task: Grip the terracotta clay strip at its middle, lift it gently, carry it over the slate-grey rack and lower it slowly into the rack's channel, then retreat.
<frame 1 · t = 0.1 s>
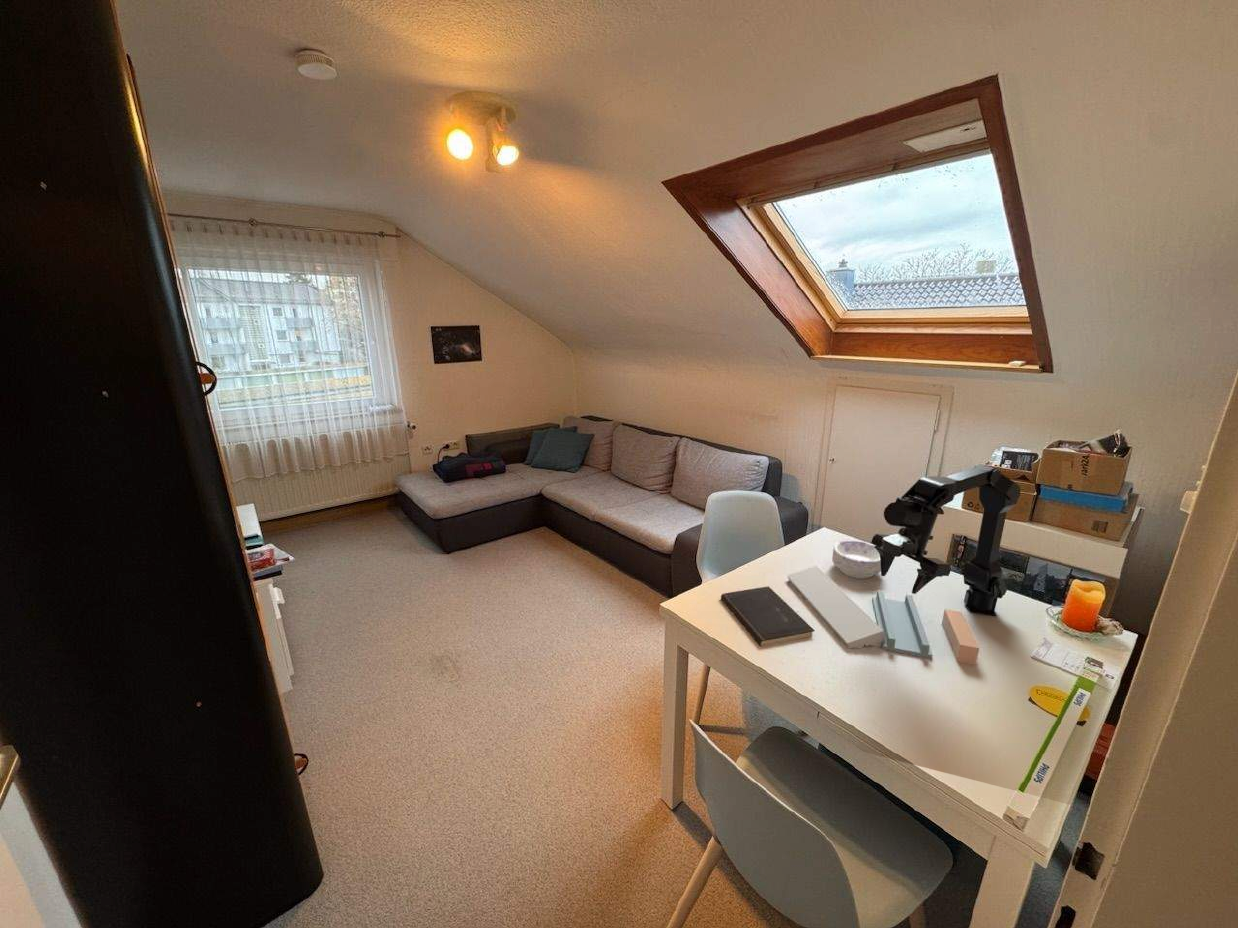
hand: (897, 584, 128), 15 cm above the table, tool pointing down, fingers open, 9 cm apart
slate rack: (899, 626, 137), on the table
clay strip: (957, 643, 130), on the table
hardcover book: (764, 618, 142), on the table
white purple speckled bowl: (855, 572, 165), on the table
light grey long wedge: (830, 611, 145), on the table
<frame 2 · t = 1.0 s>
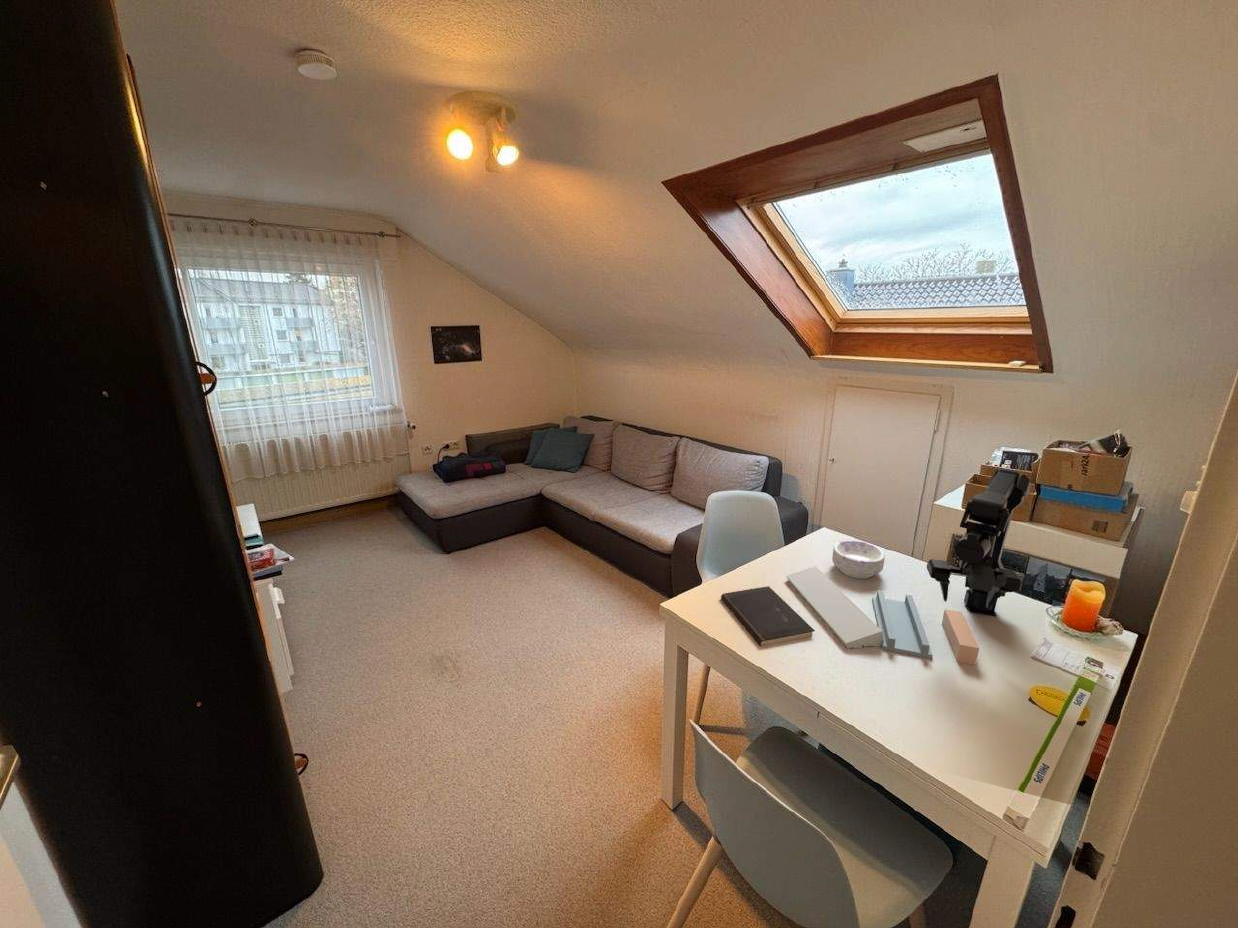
hand: (965, 604, 126), 12 cm above the table, tool pointing down, fingers open, 9 cm apart
nothing on the table moved.
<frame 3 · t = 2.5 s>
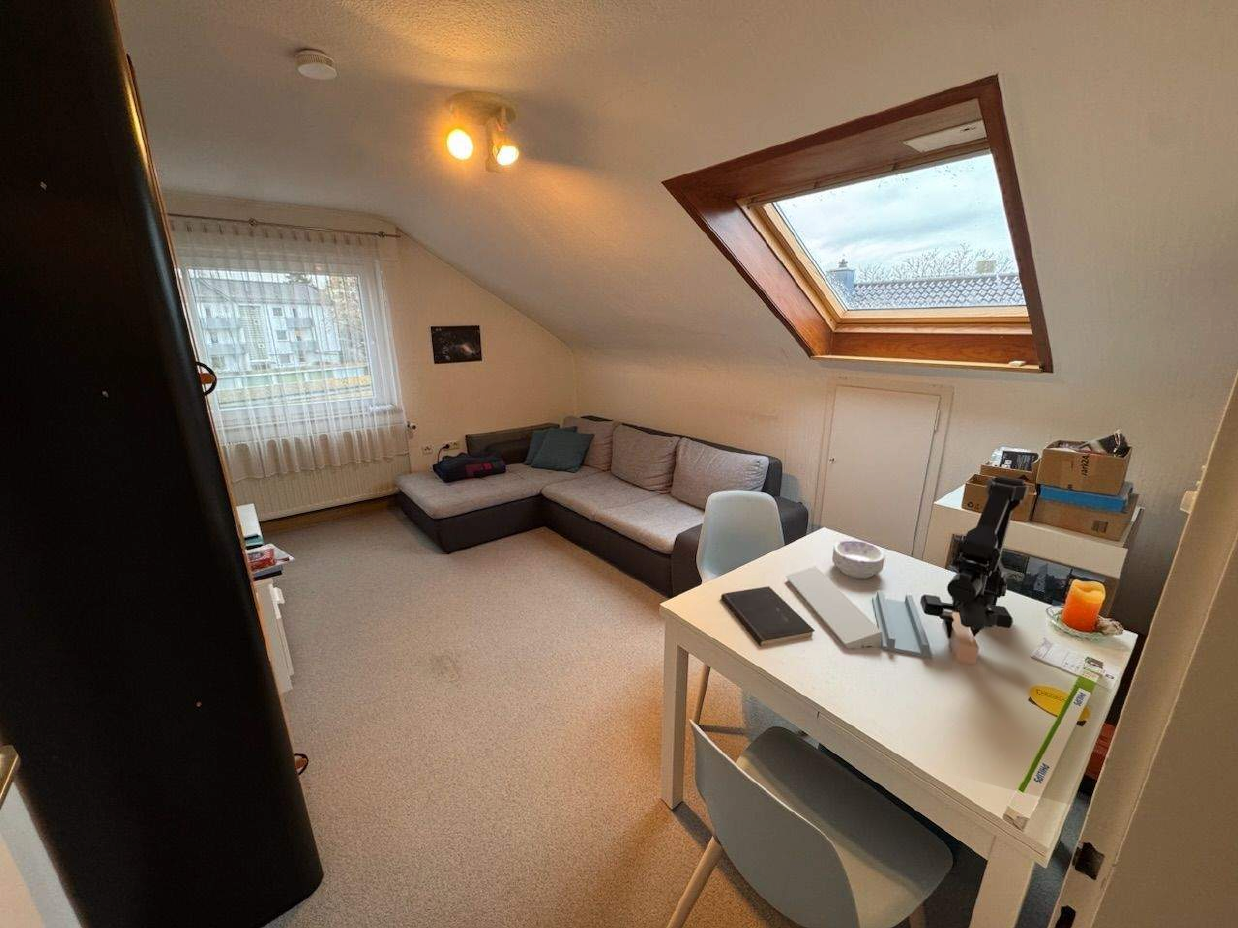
hand: (958, 638, 129), 1 cm above the table, tool pointing down, fingers closed on clay strip, 4 cm apart
clay strip: (957, 643, 130), on the table, touching gripper
everything else where it was.
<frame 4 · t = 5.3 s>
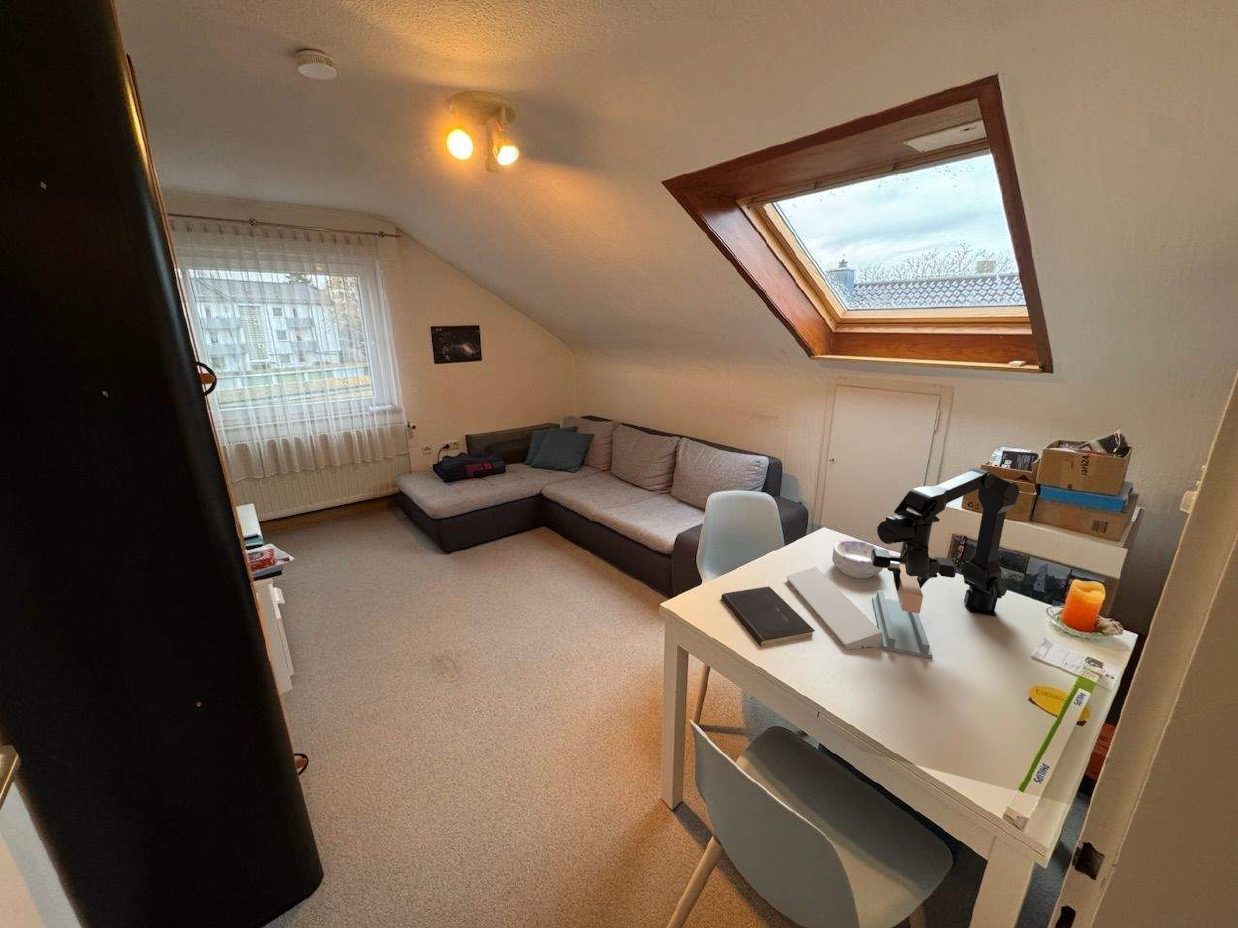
hand: (906, 591, 133), 11 cm above the table, tool pointing down, fingers closed on clay strip, 4 cm apart
clay strip: (905, 595, 133), point 10 cm above the table, touching gripper
everything else where it was.
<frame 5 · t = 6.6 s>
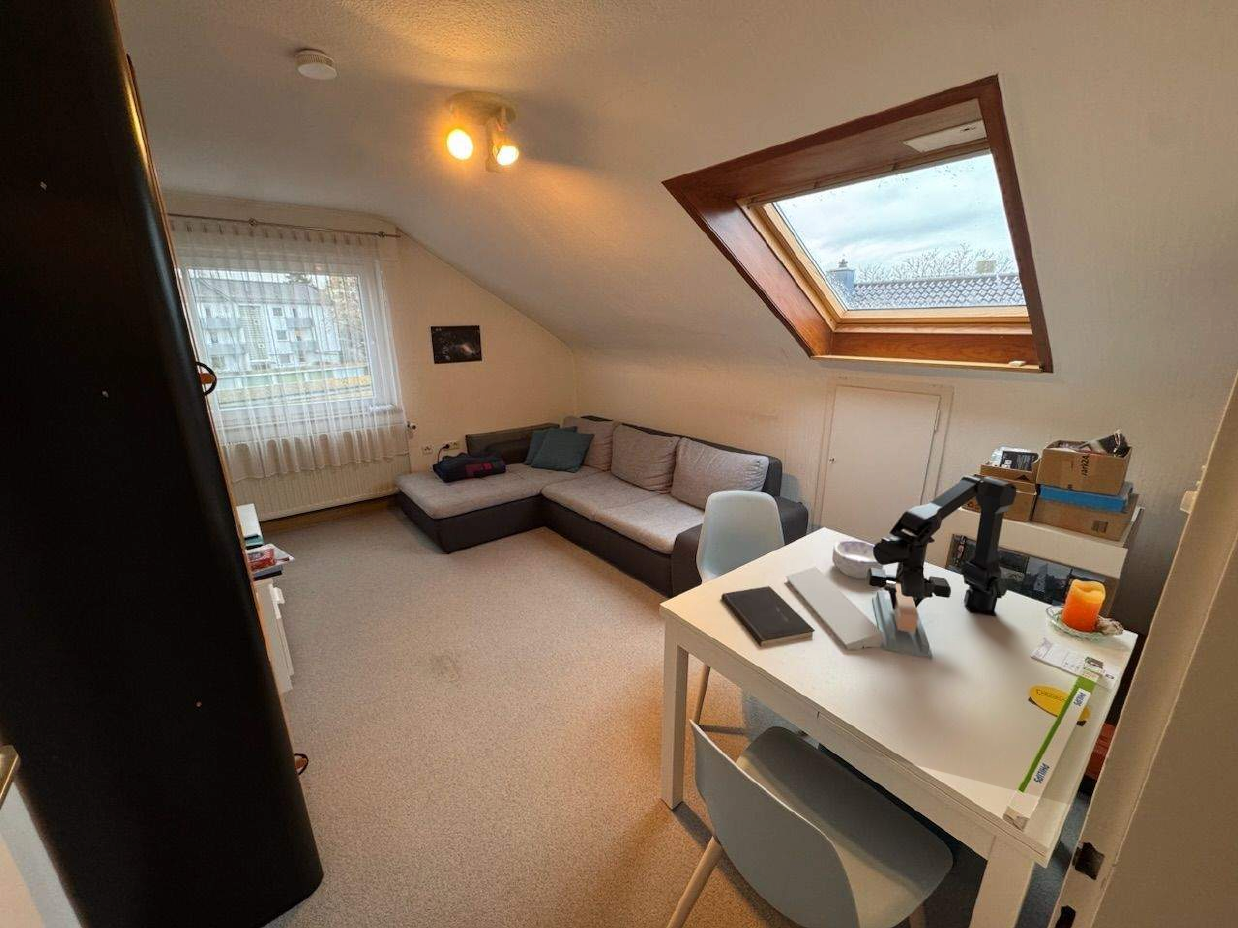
hand: (902, 609, 135), 5 cm above the table, tool pointing down, fingers closed on clay strip, 4 cm apart
clay strip: (901, 614, 135), point 4 cm above the table, touching gripper
everything else where it was.
when the fingers open (4 cm above the table, at t = 7.7 s): clay strip drops 2 cm, resting on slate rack.
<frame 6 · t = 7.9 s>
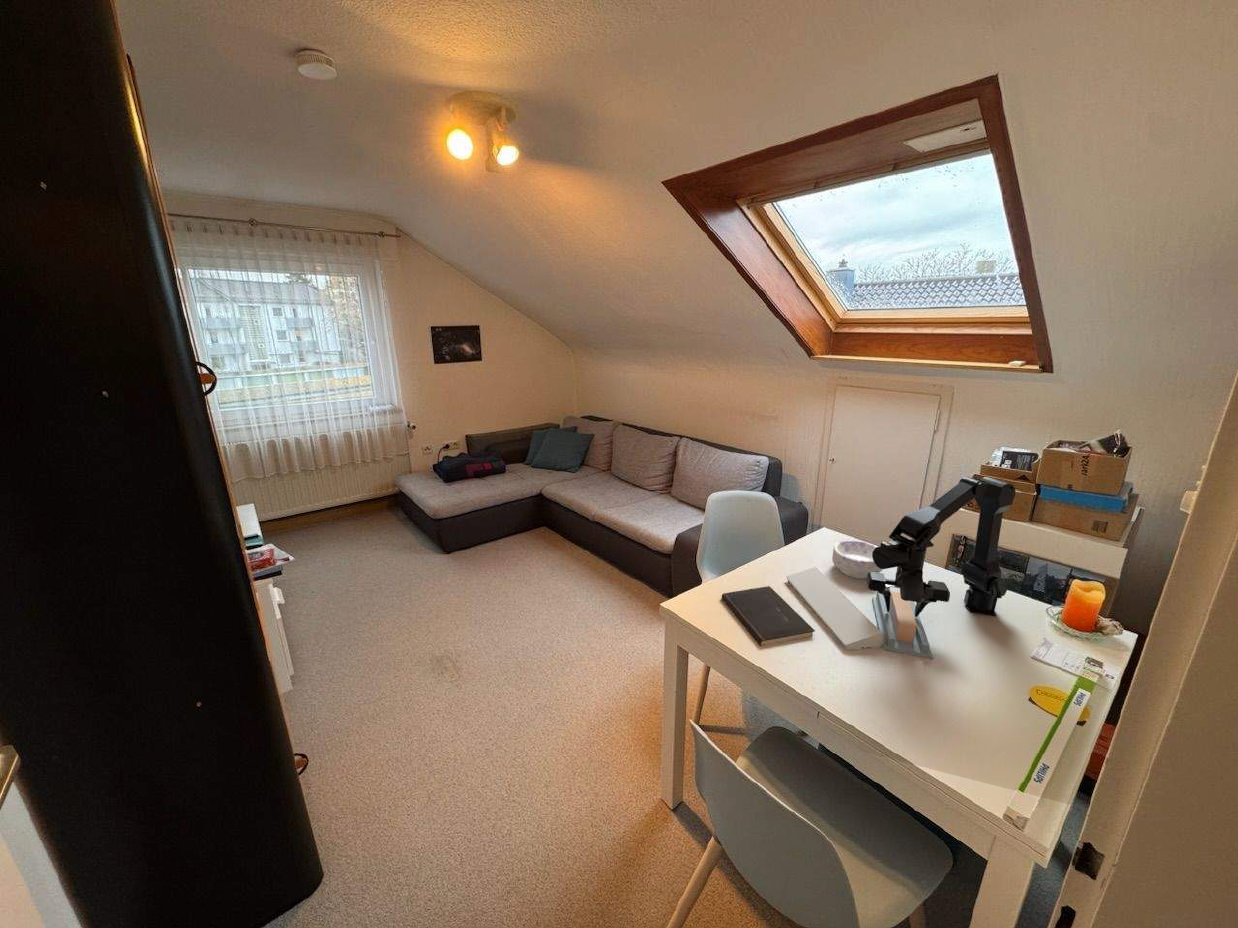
hand: (901, 613, 135), 4 cm above the table, tool pointing down, fingers open, 6 cm apart
clay strip: (900, 623, 136), point 1 cm above the table, touching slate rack
everything else where it was.
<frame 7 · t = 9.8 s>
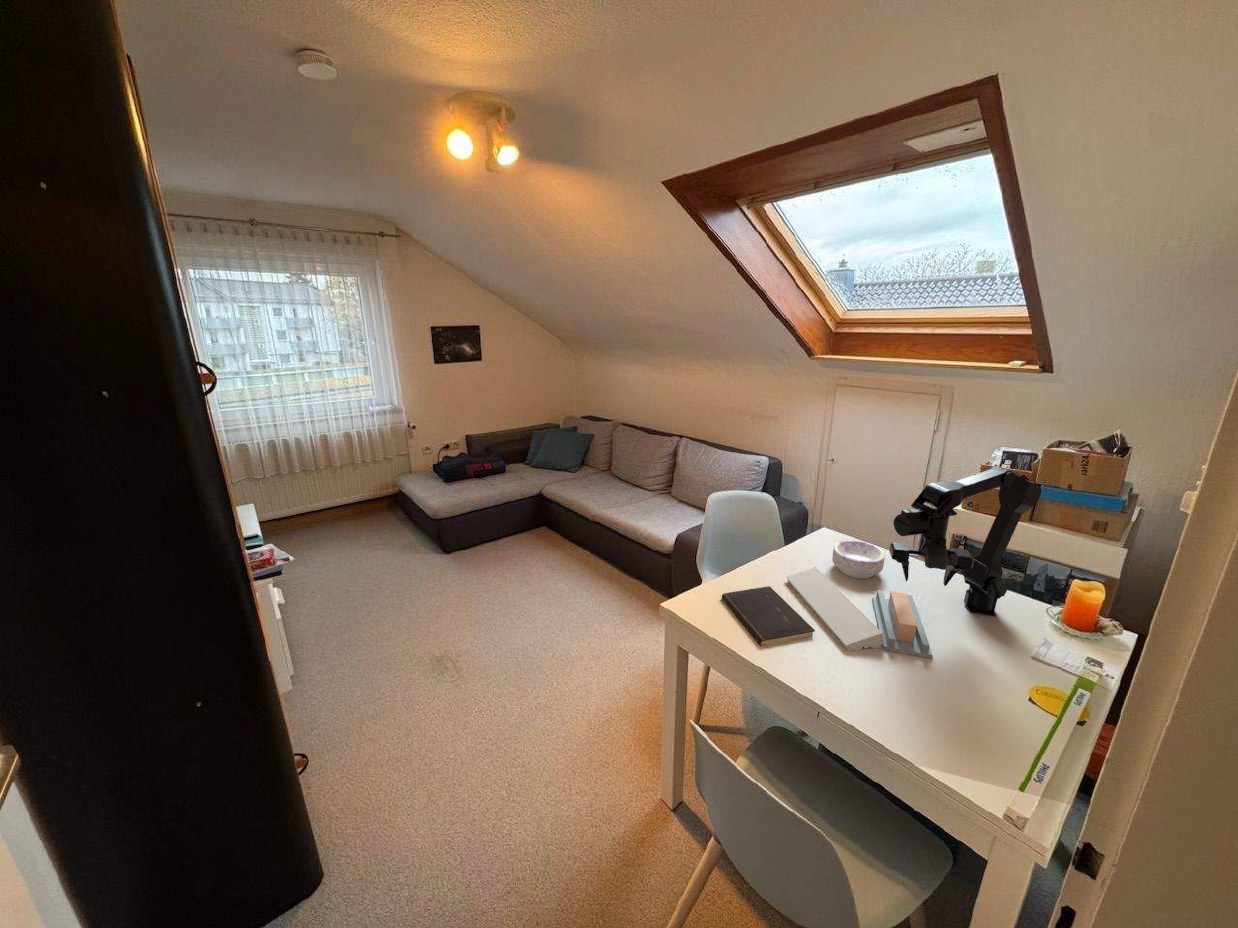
hand: (925, 582, 137), 11 cm above the table, tool pointing down, fingers open, 9 cm apart
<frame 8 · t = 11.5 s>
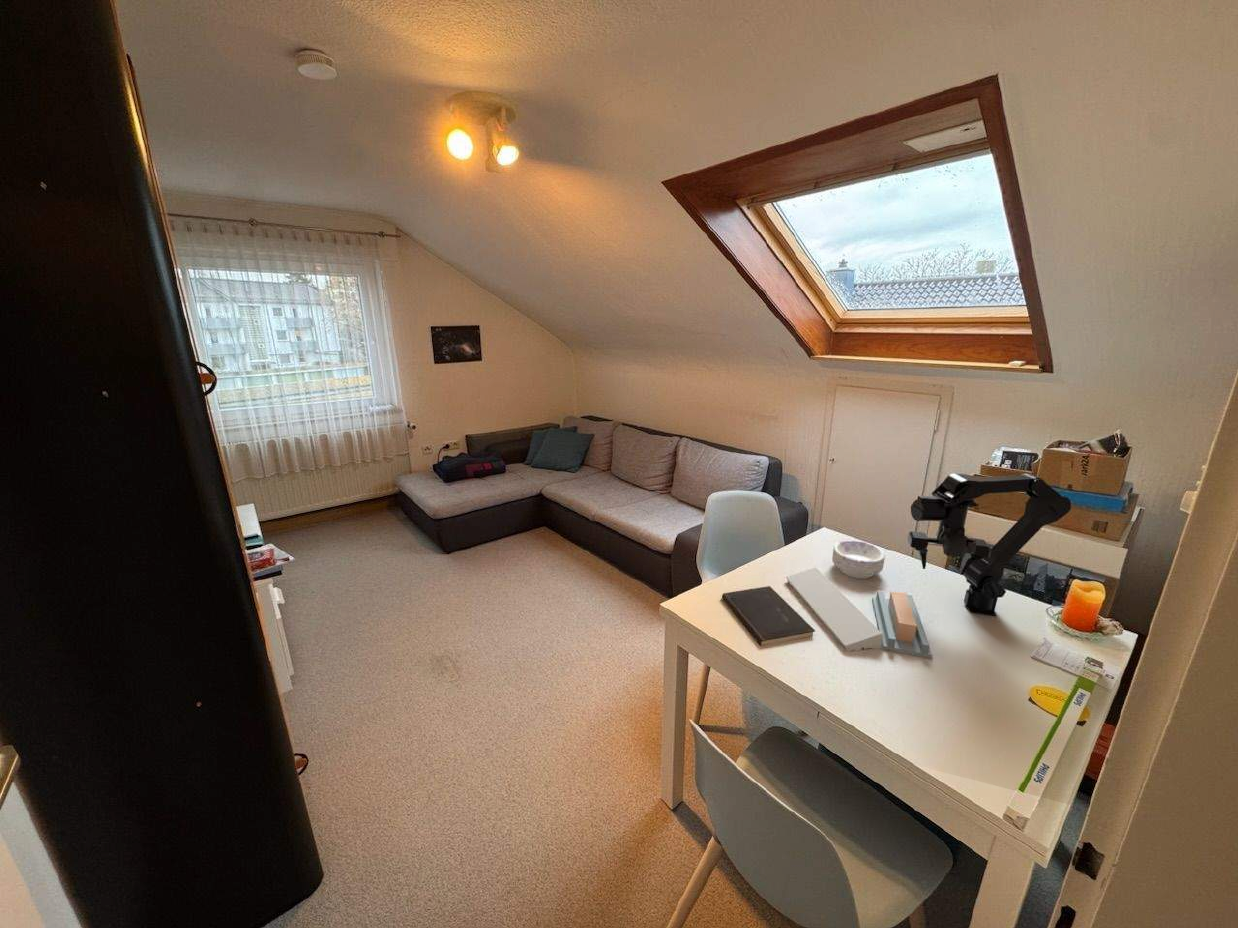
hand: (942, 571, 141), 12 cm above the table, tool pointing down, fingers open, 9 cm apart
at the end: clay strip inside the target area on the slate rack (0.1 cm from its centre), point 1.0 cm above the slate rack's base; clay strip tilted 0°; the gripper is holding nothing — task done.
